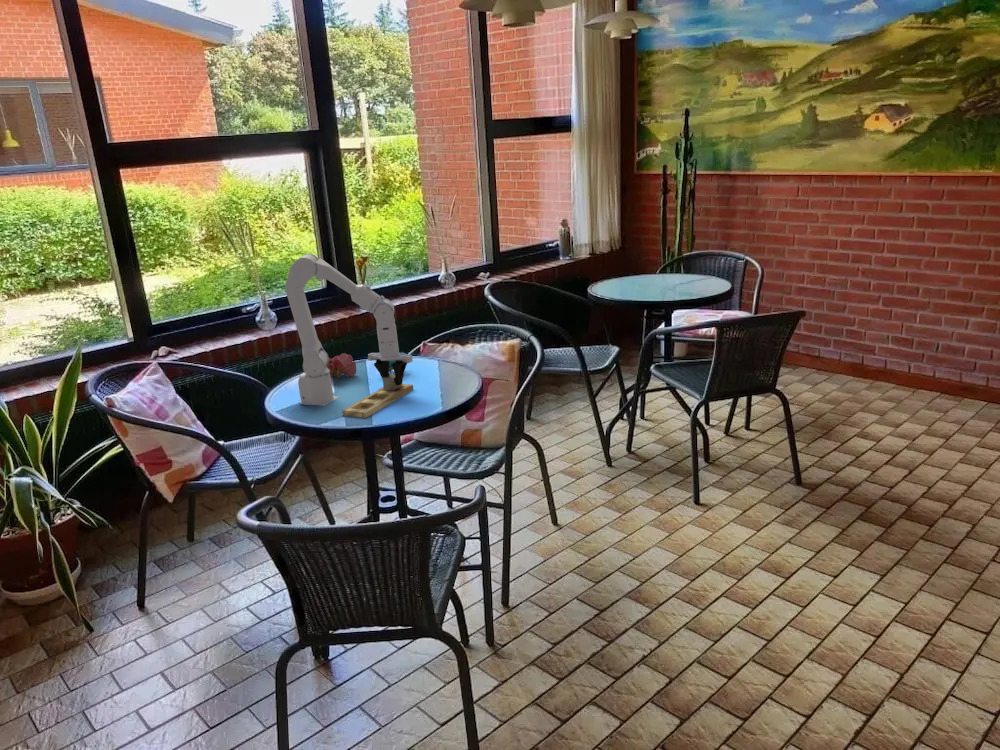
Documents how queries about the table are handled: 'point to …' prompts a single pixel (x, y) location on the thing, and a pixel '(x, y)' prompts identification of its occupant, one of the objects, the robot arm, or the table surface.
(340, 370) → the flower
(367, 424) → the table surface
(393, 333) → the robot arm
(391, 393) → the hole board
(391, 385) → the block
